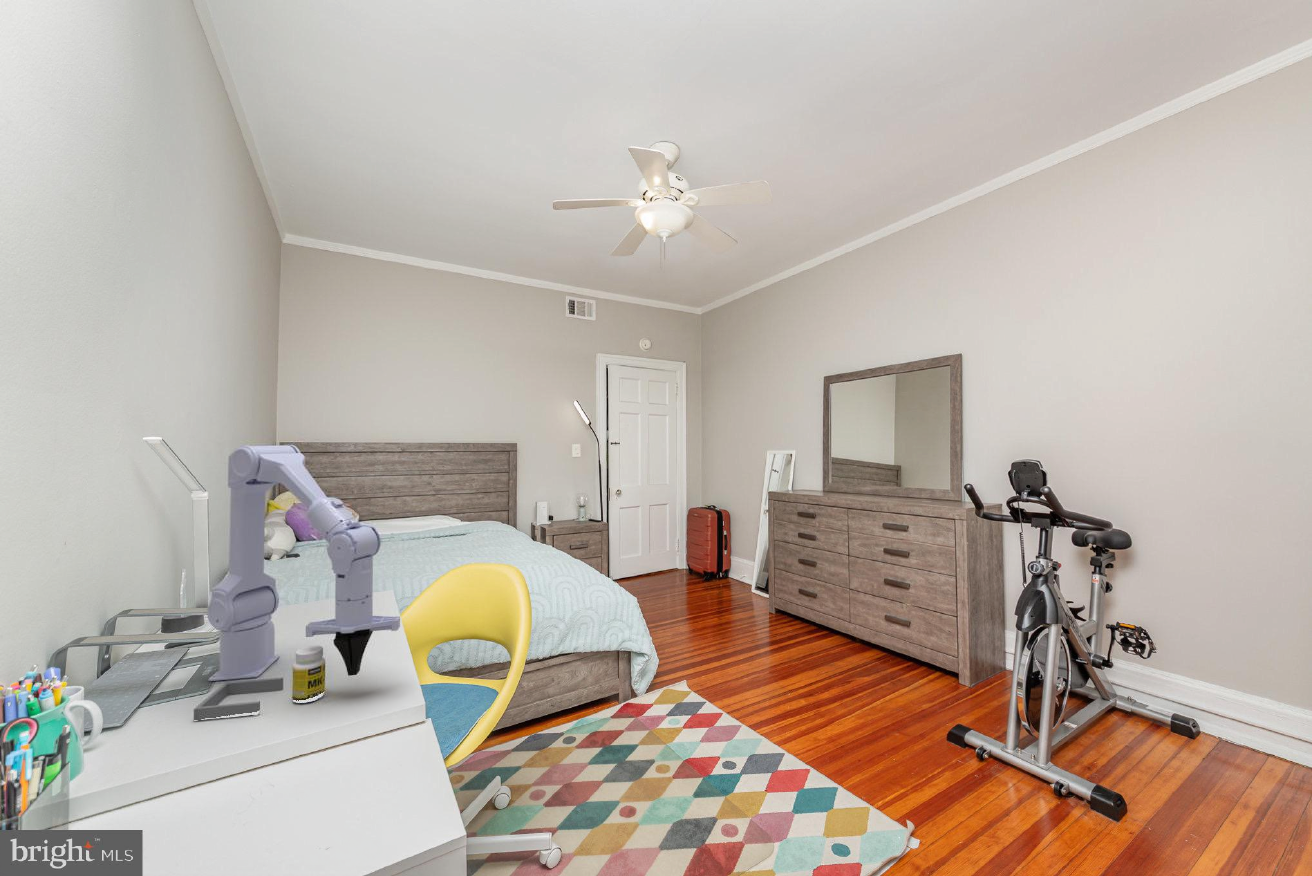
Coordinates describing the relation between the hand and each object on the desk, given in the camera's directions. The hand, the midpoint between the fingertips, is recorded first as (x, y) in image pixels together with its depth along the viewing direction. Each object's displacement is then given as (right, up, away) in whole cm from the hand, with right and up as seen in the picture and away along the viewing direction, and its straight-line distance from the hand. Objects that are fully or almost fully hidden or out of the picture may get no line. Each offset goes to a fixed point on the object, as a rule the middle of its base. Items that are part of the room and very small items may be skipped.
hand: (353, 672), depth 94 cm
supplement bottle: (-7, -4, -2) cm, 8 cm away
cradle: (-17, -4, -4) cm, 17 cm away
